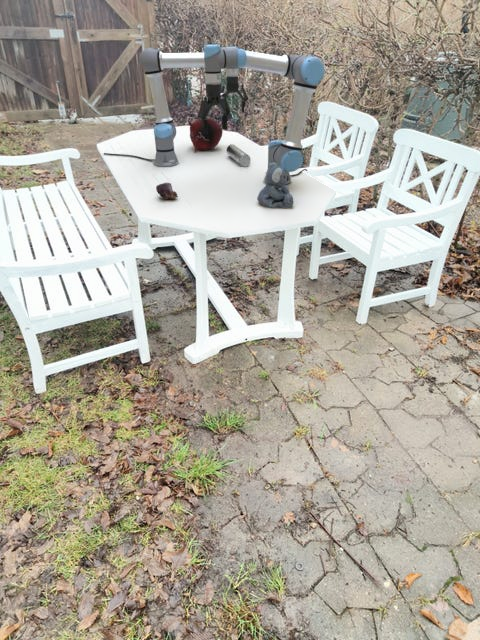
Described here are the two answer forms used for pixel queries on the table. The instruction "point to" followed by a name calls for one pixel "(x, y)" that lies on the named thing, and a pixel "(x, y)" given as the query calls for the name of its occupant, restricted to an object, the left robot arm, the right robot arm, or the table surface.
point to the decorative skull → (205, 140)
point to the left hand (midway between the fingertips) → (232, 113)
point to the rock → (166, 191)
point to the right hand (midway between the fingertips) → (215, 131)
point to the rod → (238, 155)
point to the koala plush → (275, 189)
